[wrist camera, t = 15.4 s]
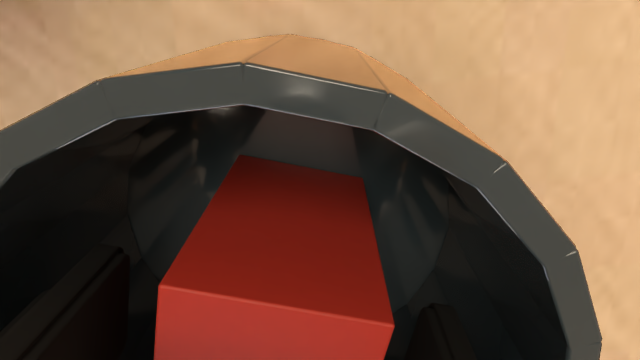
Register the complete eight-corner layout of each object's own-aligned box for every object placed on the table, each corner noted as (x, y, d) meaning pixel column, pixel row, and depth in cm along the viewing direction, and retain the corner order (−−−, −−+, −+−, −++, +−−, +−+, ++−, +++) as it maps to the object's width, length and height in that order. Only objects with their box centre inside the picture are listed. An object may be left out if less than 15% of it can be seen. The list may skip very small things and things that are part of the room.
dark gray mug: (510, 78, 14) (750, 165, 6) (407, 365, 19) (465, 624, 11) (6, -28, 13) (-489, -89, 5) (30, 303, 18) (-208, 538, 10)
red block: (363, 177, 15) (396, 325, 8) (337, 280, 16) (345, 480, 9) (238, 153, 14) (156, 284, 7) (224, 260, 16) (146, 450, 9)
